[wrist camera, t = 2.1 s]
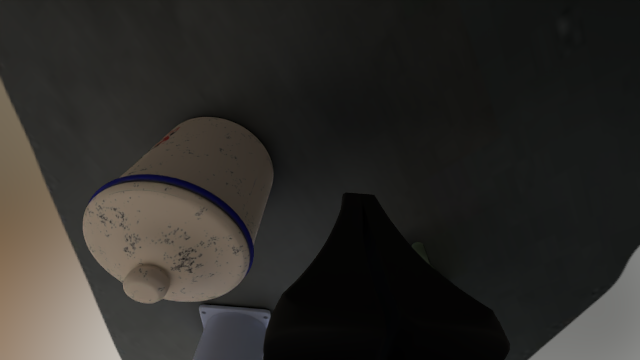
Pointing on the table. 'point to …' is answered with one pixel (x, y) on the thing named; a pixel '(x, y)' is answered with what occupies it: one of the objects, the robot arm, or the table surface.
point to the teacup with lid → (183, 213)
